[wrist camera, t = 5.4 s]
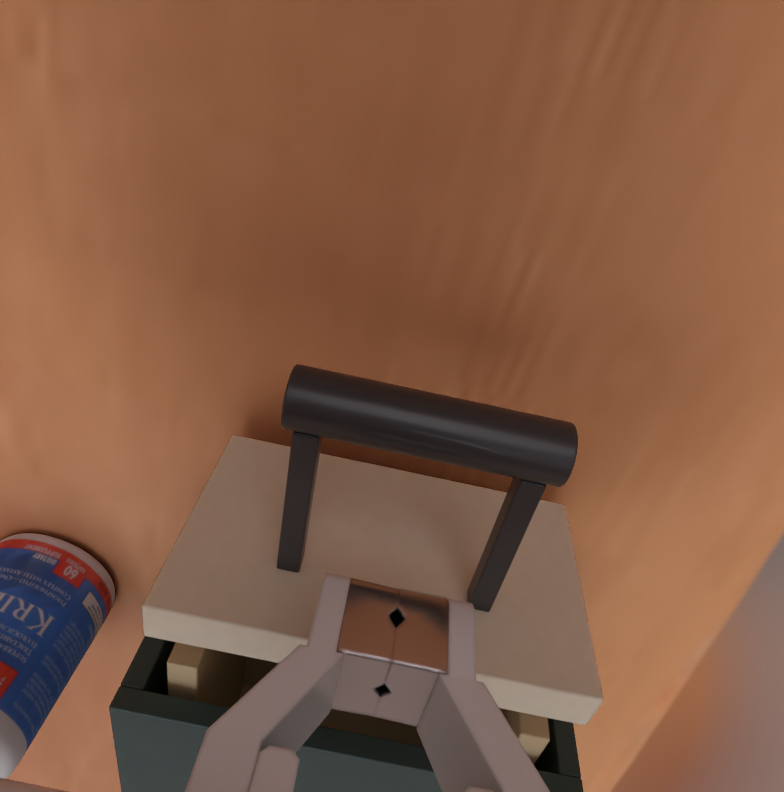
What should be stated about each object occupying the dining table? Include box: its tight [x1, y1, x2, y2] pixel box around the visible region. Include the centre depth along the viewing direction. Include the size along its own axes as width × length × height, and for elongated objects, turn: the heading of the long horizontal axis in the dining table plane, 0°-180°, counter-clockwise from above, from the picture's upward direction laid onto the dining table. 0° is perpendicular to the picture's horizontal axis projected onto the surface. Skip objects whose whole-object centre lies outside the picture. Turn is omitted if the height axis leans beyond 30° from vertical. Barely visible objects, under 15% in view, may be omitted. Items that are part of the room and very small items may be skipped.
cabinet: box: [109, 636, 583, 792], centre depth 22 cm, size 14×12×8 cm
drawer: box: [142, 364, 603, 765], centre depth 19 cm, size 19×11×7 cm, turn 169°
